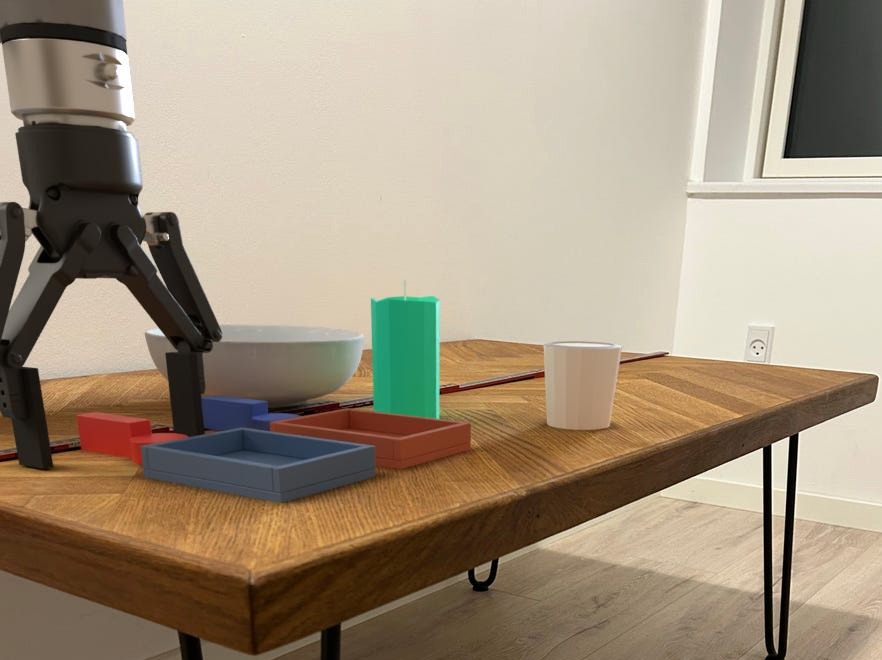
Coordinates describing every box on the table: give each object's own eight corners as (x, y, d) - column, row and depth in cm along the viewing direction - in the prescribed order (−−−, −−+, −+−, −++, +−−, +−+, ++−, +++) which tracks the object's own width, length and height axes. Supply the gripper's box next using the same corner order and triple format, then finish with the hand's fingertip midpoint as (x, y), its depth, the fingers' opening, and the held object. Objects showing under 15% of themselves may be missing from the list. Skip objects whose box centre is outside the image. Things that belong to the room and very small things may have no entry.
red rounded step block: (68, 452, 70) (62, 416, 69) (113, 444, 73) (108, 410, 72) (158, 468, 65) (154, 430, 64) (202, 459, 68) (199, 422, 67)
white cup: (599, 434, 81) (604, 348, 78) (527, 426, 84) (530, 344, 81) (627, 423, 86) (633, 343, 84) (559, 416, 89) (563, 339, 87)
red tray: (271, 450, 72) (269, 422, 71) (348, 433, 79) (347, 408, 78) (400, 469, 66) (400, 439, 65) (470, 449, 73) (471, 422, 72)
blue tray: (143, 477, 62) (140, 445, 62) (244, 455, 70) (242, 427, 69) (281, 503, 56) (279, 468, 56) (376, 476, 64) (375, 445, 63)
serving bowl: (266, 426, 82) (260, 343, 79) (106, 405, 92) (97, 330, 89) (406, 399, 98) (405, 330, 96) (258, 384, 108) (254, 321, 106)
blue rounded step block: (192, 430, 79) (189, 398, 78) (227, 424, 83) (225, 393, 82) (279, 443, 75) (277, 409, 74) (312, 435, 78) (311, 403, 77)
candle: (416, 412, 90) (415, 278, 86) (452, 421, 86) (453, 280, 81) (361, 417, 87) (357, 278, 82) (396, 427, 82) (393, 280, 78)
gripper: (-82, 94, 50) (-9, 487, 58) (254, 144, 70) (274, 433, 78) (-155, 104, 54) (-78, 473, 62) (184, 149, 74) (210, 424, 82)
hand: (119, 451), depth 70 cm, fingers open, 13 cm apart
